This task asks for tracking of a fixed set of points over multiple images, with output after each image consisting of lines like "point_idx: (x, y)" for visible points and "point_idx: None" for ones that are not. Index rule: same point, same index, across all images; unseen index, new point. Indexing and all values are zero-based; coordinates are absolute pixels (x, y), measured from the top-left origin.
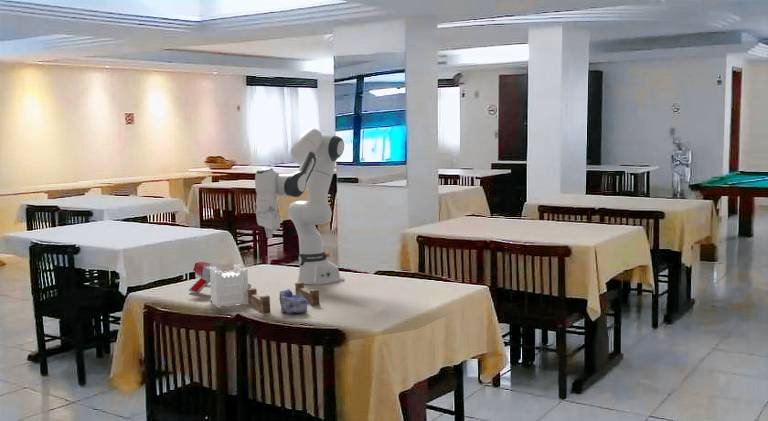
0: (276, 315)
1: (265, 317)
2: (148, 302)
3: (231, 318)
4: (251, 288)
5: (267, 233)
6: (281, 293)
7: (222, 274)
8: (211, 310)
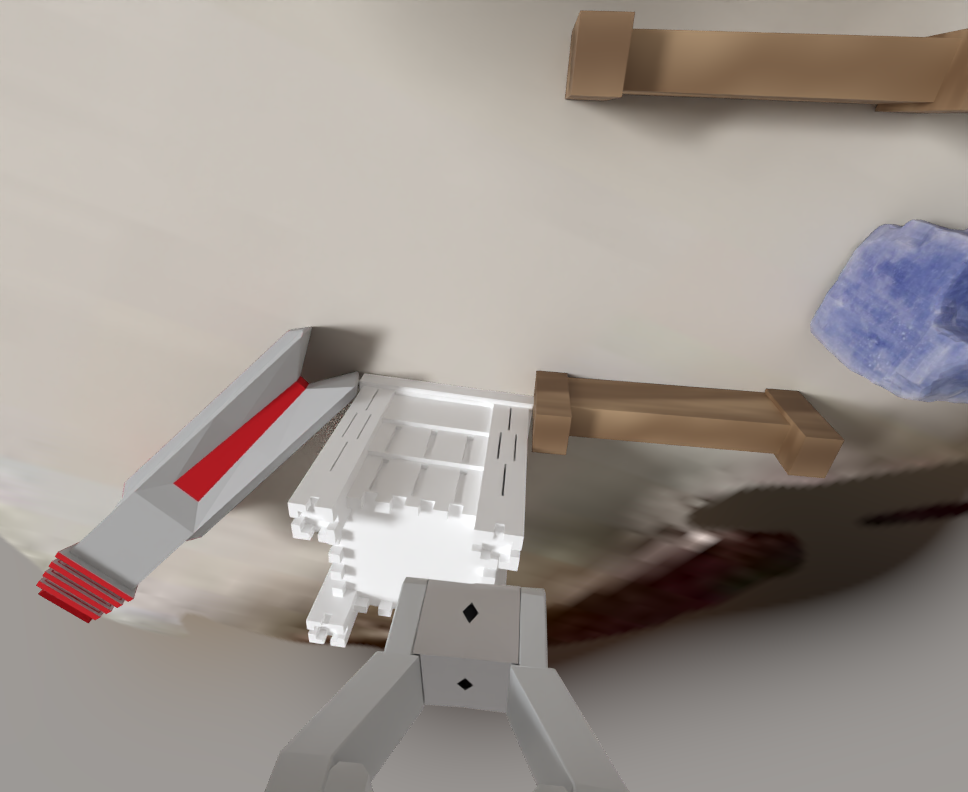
0: (895, 396)
1: (875, 447)
2: (279, 631)
3: (748, 543)
4: (534, 431)
5: (421, 694)
6: (937, 399)
7: (383, 576)
8: (548, 547)
